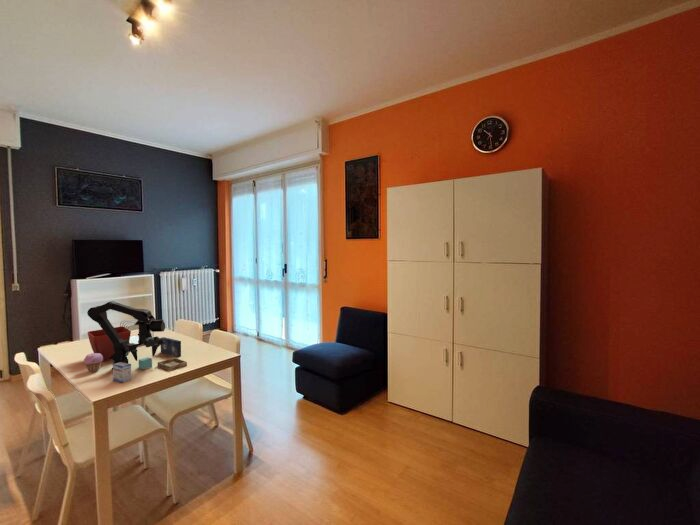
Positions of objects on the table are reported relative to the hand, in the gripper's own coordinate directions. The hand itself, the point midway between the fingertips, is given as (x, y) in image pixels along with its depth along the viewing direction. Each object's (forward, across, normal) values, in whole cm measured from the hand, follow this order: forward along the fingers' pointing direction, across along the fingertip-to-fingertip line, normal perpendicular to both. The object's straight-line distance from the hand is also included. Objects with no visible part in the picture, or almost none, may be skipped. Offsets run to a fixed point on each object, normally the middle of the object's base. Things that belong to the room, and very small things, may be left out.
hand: (145, 358), depth 194 cm
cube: (+5, 0, 0) cm, 5 cm away
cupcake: (+6, -19, +18) cm, 27 cm away
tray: (+5, +10, -10) cm, 15 cm away
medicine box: (+5, -16, -10) cm, 20 cm away
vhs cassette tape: (+5, +21, +12) cm, 25 cm away
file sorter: (+6, +22, +61) cm, 65 cm away
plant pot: (+6, -4, +37) cm, 38 cm away
